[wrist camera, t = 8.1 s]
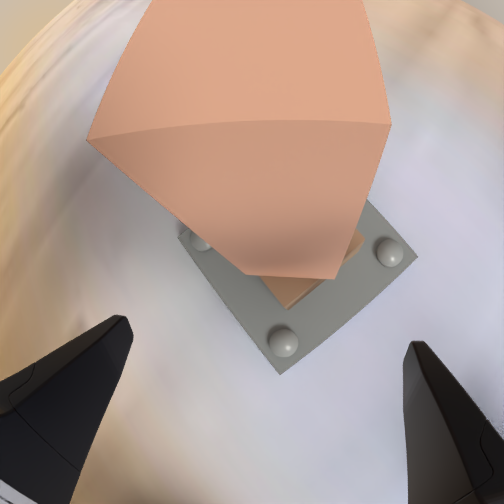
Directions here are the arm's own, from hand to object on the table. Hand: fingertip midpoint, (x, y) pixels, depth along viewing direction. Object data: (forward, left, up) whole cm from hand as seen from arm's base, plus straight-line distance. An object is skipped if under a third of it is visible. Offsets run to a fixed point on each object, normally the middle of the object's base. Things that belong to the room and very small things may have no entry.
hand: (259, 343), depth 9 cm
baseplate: (+4, +4, -12) cm, 14 cm away
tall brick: (+4, +4, -8) cm, 10 cm away
